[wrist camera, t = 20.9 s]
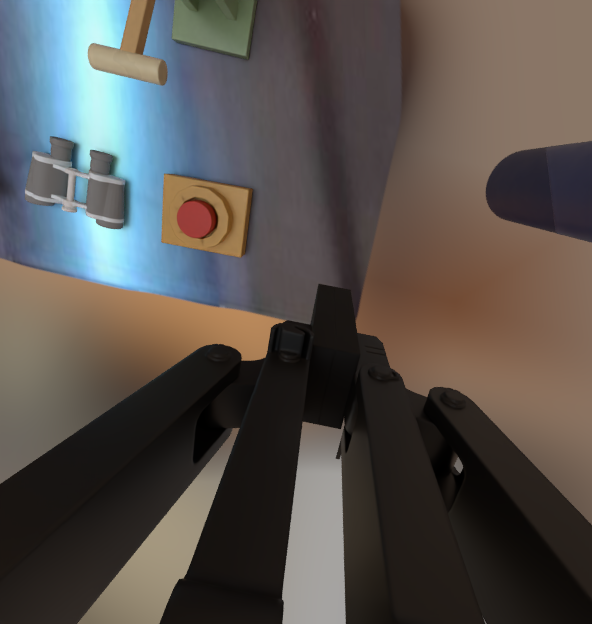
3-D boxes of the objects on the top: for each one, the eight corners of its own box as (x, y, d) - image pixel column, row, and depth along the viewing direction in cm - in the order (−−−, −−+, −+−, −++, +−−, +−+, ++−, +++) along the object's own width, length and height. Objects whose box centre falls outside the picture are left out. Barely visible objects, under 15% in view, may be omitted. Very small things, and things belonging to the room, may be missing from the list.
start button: (218, 203, 41) (213, 204, 40) (214, 238, 43) (210, 241, 41) (183, 197, 41) (177, 198, 40) (181, 232, 43) (175, 234, 41)
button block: (252, 188, 44) (245, 190, 40) (244, 254, 47) (237, 260, 43) (171, 173, 44) (156, 173, 40) (168, 239, 47) (154, 245, 43)
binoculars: (37, 197, 47) (15, 199, 43) (40, 130, 44) (16, 127, 41) (127, 227, 47) (112, 231, 44) (136, 163, 44) (120, 162, 41)
